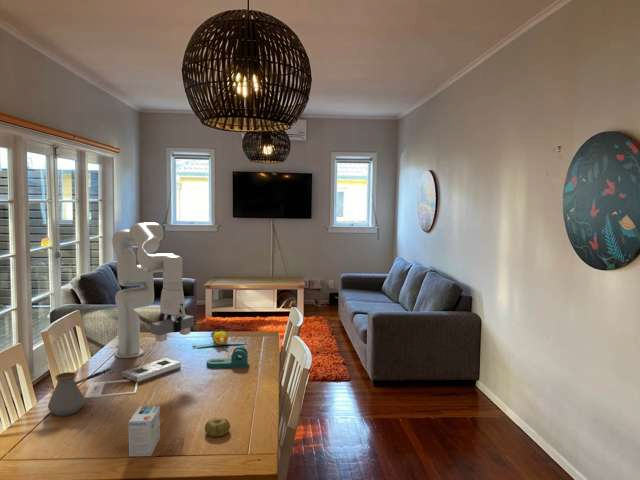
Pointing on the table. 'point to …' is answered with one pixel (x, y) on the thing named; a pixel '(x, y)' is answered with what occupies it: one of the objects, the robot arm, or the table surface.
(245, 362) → the bracket
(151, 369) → the mounting plate
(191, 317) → the grey bar
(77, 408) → the coffee pot
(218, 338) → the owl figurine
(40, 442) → the table surface
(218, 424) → the sculpture
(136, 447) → the light bulb box
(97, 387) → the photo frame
